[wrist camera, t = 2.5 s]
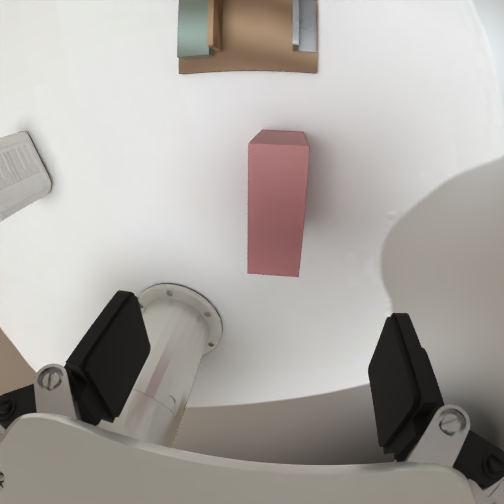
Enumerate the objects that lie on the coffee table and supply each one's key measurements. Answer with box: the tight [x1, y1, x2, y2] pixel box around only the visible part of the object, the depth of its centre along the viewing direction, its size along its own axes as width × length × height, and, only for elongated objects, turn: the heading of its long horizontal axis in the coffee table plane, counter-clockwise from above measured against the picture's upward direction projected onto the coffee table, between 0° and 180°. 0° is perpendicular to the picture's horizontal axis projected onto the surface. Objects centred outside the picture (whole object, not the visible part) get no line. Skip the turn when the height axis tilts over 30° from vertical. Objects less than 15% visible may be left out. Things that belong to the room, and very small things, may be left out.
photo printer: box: [0, 131, 51, 222], centre depth 27 cm, size 10×4×12 cm, turn 27°
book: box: [248, 130, 309, 277], centre depth 26 cm, size 10×4×10 cm, turn 179°
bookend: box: [292, 0, 316, 53], centre depth 19 cm, size 10×2×4 cm, turn 179°
